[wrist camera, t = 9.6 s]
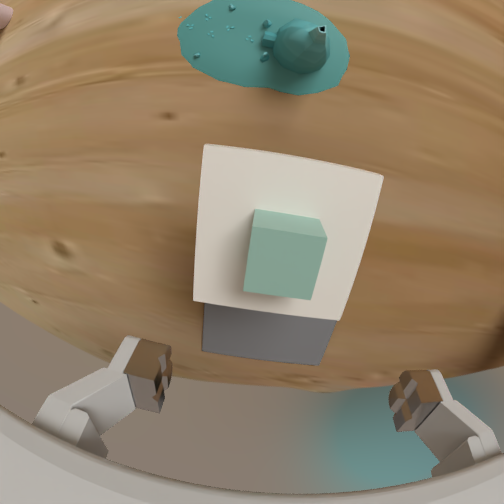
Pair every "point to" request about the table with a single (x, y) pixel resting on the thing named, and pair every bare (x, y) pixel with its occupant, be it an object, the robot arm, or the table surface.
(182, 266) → the table surface
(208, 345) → the rubber mat
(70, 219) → the table surface
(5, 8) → the smoothie
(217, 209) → the cover sheet
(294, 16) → the teal witch hat
